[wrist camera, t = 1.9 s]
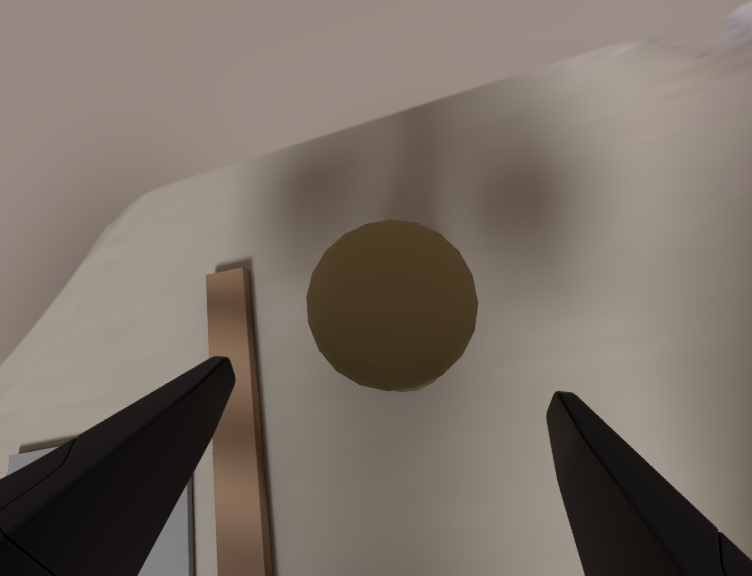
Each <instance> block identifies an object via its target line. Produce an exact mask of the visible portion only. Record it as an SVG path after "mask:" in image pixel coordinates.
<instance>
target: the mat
mask: <svg viewBox="0 0 752 576" xmlns="http://www.w3.org/2000/svg"><path fill="white" fill-rule="evenodd" d="M56 448H58V447H54V448H48V449H43V450H37V451H32V452H27V453H21V454H16V455H11V456H9V465H8V473H7V475H9V474H11V473H13V472H15V471H17V470H18V469H20V468H22V467H24V466H26V465H28V464H30V463H31V462H33V461H35V460H37V459H38V458H40V457H42V456H44V455H45V454H47V453H49V452H51V451H52V450H54V449H56ZM138 576H194V556H193V514H192V476H191V478H190V480H189V482H188V483H187V485H186V487H185V489H184V491H183V493H182V494H181V496H180V498H179V500H178V502H177V504H176V506H175V507H174V509H173V511H172V513H171V515H170V517H169V519H168V520H167V522H166V524H165V526H164V528H163V530H162V532H161V533H160V535H159V537H158V539H157V541H156V543H155V545H154V546H153V548H152V550H151V552H150V554H149V556H148V558H147V559H146V561H145V563H144V565H143V567H142V569H141V570H140V572H139V574H138Z"/></svg>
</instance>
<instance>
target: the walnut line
mask: <svg viewBox="0 0 752 576" xmlns="http://www.w3.org/2000/svg"><path fill="white" fill-rule="evenodd" d="M206 288H207V313H208V338H209V358H211V357H213V356H224V357H228V358H229V359H230V361H231V364H232V367H233V370H234V373H235V377H236V382H235V385H234V388H233V390H232V393H231V395H230V398H229V400H228V402H227V405H226V407H225V409H224V412H223V414H222V417H221V419H220V421H219V424H218V426H217V428H216V431H215V433H214V435H213V437H212V438H213V463H214V488H215V513H216V537H217V562H218V576H272V563H271V550H270V537H269V525H268V512H267V499H266V486H265V473H264V460H263V447H262V434H261V422H260V409H259V396H258V383H257V370H256V357H255V344H254V331H253V318H252V306H251V293H250V280H249V271H248V270H246V269H245V268H243V267H242V268H237V269H232V270H228V271H223V272H218V273H213V274H209V275H206Z"/></svg>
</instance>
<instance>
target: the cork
mask: <svg viewBox="0 0 752 576" xmlns="http://www.w3.org/2000/svg"><path fill="white" fill-rule="evenodd" d="M477 308H478V301H477V296H476V291H475V286H474V281H473V276H472V273H471V272H470V270H469V268H468V266H467V265H466V263H465V261H464V259H463V258H462V256H461V254H460V252H459V251H458V250H457V249H456V248H455V247H454V246H453V245H451V244H450V243H449V242H448V241H447V240H446V239H445V238H444V237H443V236H441V235H440V234H439V233H437V232H435V231H432V230H430V229H428V228H426V227H424V226H421V225H419V224H417V223H411V222H403V221H396V220H388V221H382V222H375V223H369V224H366V225H363V226H361V227H359V228H357V229H355V230H353V231H351V232H349V233H346V234H344V235H343V236H342V237H341V238H340V239H339V240H338V241H337V242H335V243H334V244H333V245H332V246H331V247H330V248H329V249H328V250H326V252H325V253H324V255H323V257H322V258H321V260H320V261H319V263H318V265H317V266H316V268H315V270H314V271H313V273H312V277H311V281H310V285H309V289H308V293H307V312H308V323H309V326H310V329H311V331H312V334H313V336H314V339H315V341H316V344H317V346H318V349H319V351H320V352H321V353H322V354H323V356H324V357H325V358H326V359H327V360H328V361H329V363H330V364H331V365H332V366H333V367H334V369H335V370H336V371H337V372H339V373H341V374H342V375H344V376H346V377H347V378H349V379H351V380H352V381H354V382H356V383H357V384H359V385H362V386H367V387H371V388H376V389H381V390H385V391H392V390H394V391H399V392H404V391H412V390H418V389H420V388H423V387H425V386H427V385H429V384H431V383H433V382H434V381H435V380H436V379H437V378H438V377H440V376H442V375H443V374H444V373H445V372H446V371H447V370H448V369H449V368H450V367H451V366H452V365H453V364H454V363H455V362H456V361H457V360H458V359H459V358H460V357H461V356H462V355H463V353H464V351H465V349H466V347H467V345H468V343H469V341H470V339H471V337H472V335H473V333H474V331H475V323H476V316H477Z"/></svg>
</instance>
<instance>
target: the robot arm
mask: <svg viewBox="0 0 752 576" xmlns="http://www.w3.org/2000/svg"><path fill="white" fill-rule="evenodd" d="M235 382H236V377H235V373H234V370H233V367H232V364H231V361H230V359H229V358H228V357H224V356H213V357H211V358H209V359H208V360H206V361H204V362H203V363H201V364H199V365H197V366H196V367H194V368H192V369H191V370H189V371H187V372H186V373H184V374H182V375H180V376H179V377H177V378H175V379H174V380H172V381H170V382H168V383H167V384H165V385H163V386H162V387H160V388H158V389H157V390H155V391H153V392H151V393H150V394H148V395H146V396H145V397H143V398H141V399H140V400H138V401H136V402H134V403H133V404H131V405H129V406H128V407H126V408H124V409H123V410H121V411H119V412H117V413H116V414H114V415H112V416H111V417H109V418H107V419H105V420H104V421H102V422H100V423H99V424H97V425H95V426H94V427H92V428H90V429H88V430H87V431H85V432H83V433H82V434H80V435H78V437H77V438H73V439H71V440H70V441H68V442H66V443H64V444H63V445H61V446H59V447H58V448H56V449H54V450H52V451H51V452H49V453H47V454H45V455H44V456H42V457H40V458H38V459H37V460H35V461H33V462H31V463H30V464H28V465H26V466H24V467H22V468H20V469H18V470H17V471H15V472H13V473H11V474H9V475H7V476H5V477H4V478H2V479H0V576H138V574H139V572H140V570H141V569H142V567H143V565H144V563H145V561H146V559H147V558H148V556H149V554H150V552H151V550H152V548H153V546H154V545H155V543H156V541H157V539H158V537H159V535H160V533H161V532H162V530H163V528H164V526H165V524H166V522H167V520H168V519H169V517H170V515H171V513H172V511H173V509H174V507H175V506H176V504H177V502H178V500H179V498H180V496H181V494H182V493H183V491H184V489H185V487H186V485H187V483H188V482H189V480H190V478H191V476H192V474H193V472H194V470H195V469H196V467H197V465H198V463H199V461H200V459H201V457H202V456H203V454H204V452H205V450H206V448H207V446H208V444H209V443H210V441H211V439H212V437H213V435H214V433H215V431H216V428H217V426H218V424H219V421H220V419H221V417H222V414H223V412H224V409H225V407H226V405H227V402H228V400H229V398H230V395H231V393H232V390H233V388H234V385H235ZM546 419H547V426H548V431H549V437H550V443H551V448H552V454H553V460H554V465H555V471H556V476H557V481H558V484H559V488H560V492H561V495H562V499H563V502H564V505H565V509H566V512H567V516H568V519H569V523H570V526H571V529H572V533H573V536H574V540H575V543H576V547H577V550H578V553H579V557H580V560H581V564H582V567H583V571H584V574H585V576H752V560H751V559H750V558H749V557H748V556H746V555H745V554H744V553H743V552H742V551H741V550H740V549H739V548H738V547H737V546H736V545H735V544H734V543H733V542H732V541H731V540H729V539H728V538H727V537H726V536H725V535H724V534H723V533H721V532H718V529H717V527H715V526H714V525H713V524H712V523H711V522H710V521H709V520H708V519H707V518H706V517H705V516H704V515H703V514H702V513H701V512H700V511H699V510H697V509H696V508H695V507H694V506H693V505H692V504H691V503H690V502H689V501H688V500H687V499H686V498H685V497H684V496H683V495H682V494H681V493H679V492H678V491H677V490H676V489H675V488H674V487H673V486H672V485H671V484H670V483H669V482H668V481H667V480H666V479H665V478H664V477H663V476H661V475H660V474H659V473H658V472H657V471H656V470H655V469H654V468H653V467H652V466H651V465H650V464H649V463H648V462H647V461H646V460H645V459H643V458H642V457H641V456H640V455H639V454H638V453H637V452H636V451H635V450H634V449H633V448H632V447H631V446H630V445H629V444H628V443H626V442H625V441H624V440H623V439H622V438H621V437H620V436H619V435H618V434H617V433H616V432H615V431H614V430H613V429H612V428H611V427H610V426H608V425H607V424H606V423H605V422H604V421H603V420H602V419H601V418H600V417H599V416H598V415H597V414H596V413H595V412H594V411H593V410H592V409H590V408H589V407H588V406H587V405H586V404H585V403H584V402H583V401H582V400H581V399H580V398H579V397H578V396H577V395H575V394H574V393H572V392H564V391H556V392H555V393H554V395H553V397H552V400H551V402H550V405H549V408H548V410H547V415H546Z"/></svg>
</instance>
